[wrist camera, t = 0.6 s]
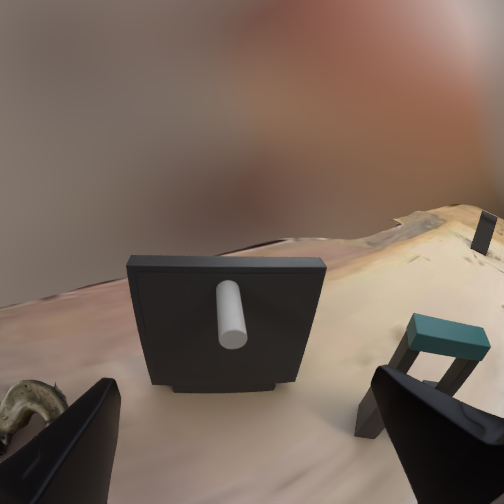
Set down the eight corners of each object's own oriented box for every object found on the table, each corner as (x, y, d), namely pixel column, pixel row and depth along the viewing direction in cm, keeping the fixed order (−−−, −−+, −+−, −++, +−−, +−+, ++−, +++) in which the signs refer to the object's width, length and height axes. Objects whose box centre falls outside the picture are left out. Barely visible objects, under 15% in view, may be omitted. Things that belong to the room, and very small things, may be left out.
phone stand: (485, 255, 64) (497, 219, 58) (470, 248, 68) (481, 212, 62) (486, 248, 69) (496, 215, 64) (472, 241, 73) (482, 208, 68)
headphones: (416, 443, 19) (494, 354, 13) (353, 436, 21) (418, 341, 15) (416, 413, 22) (480, 321, 17) (358, 404, 24) (412, 306, 18)
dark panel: (304, 428, 22) (355, 310, 15) (149, 434, 20) (104, 312, 13) (277, 336, 33) (297, 224, 27) (161, 337, 31) (148, 221, 25)
